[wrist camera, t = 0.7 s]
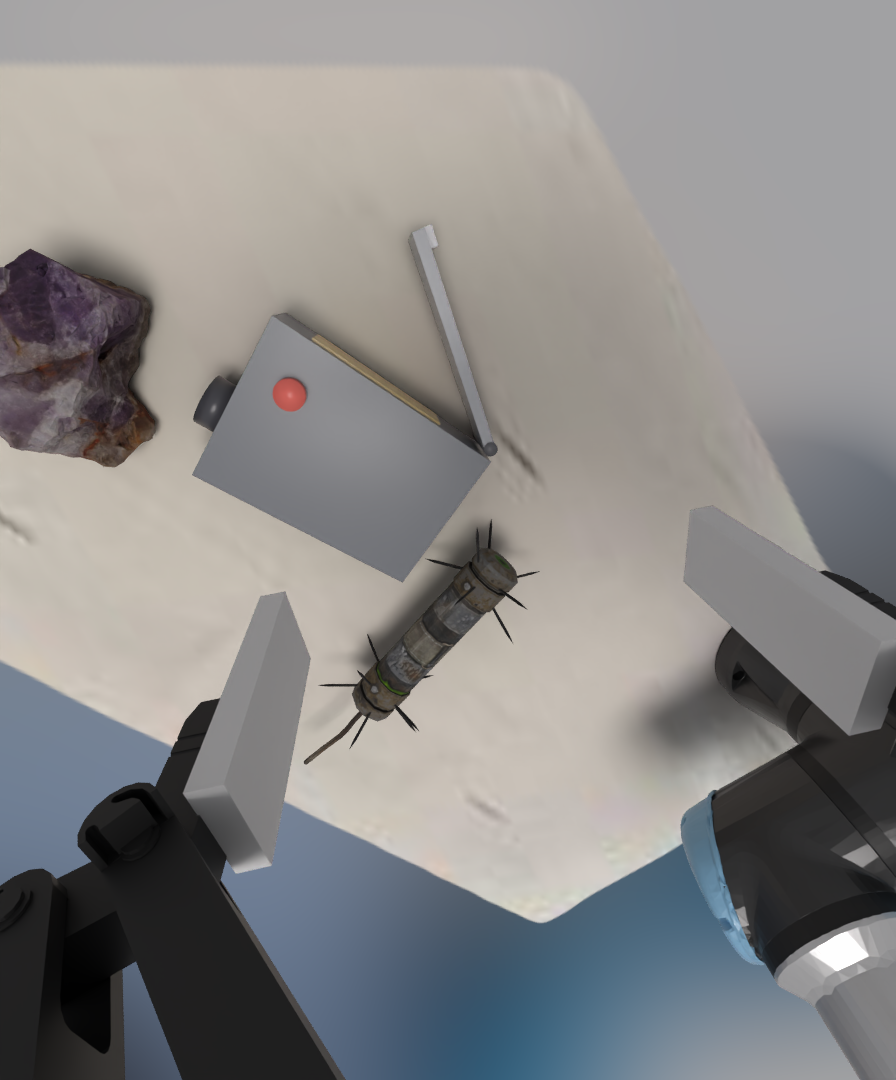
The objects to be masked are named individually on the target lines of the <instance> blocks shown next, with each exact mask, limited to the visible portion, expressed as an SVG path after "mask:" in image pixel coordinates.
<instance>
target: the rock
mask: <svg viewBox="0 0 896 1080" xmlns="http://www.w3.org/2000/svg"><path fill="white" fill-rule="evenodd" d="M149 315H150V306H149V303H148V301H147V300H146V298H145V297H143V296H141V295H138V294H136V293H135V292H133V291H132V290H130V289H128V288H126V287H121V286H117V285H115V284H114V283H112V282H111V281H108V280H104V279H98V278H95V277H93V276H89V275H86V274H81V273H77V272H74V271H73V270H71V269H70V268H68V267H66V266H64V265H62V264H60V263H58V262H56V261H54V260H52V259H50V258H48V257H46V256H44V255H42V254H40V253H38V252H36V251H34V250H32V249H29V250H28V251H26V252H24V253H23V254H21V255H20V256H18V257H17V258H16V259H15V260H14V261H13V262H11V263H9V264H7V265H6V266H5V267H0V436H1V437H2V438H3V439H5V440H6V441H7V442H8V443H9V445H10V447H13V448H16V449H19V450H28V451H34V452H39V453H42V452H45V453H50V454H62V455H65V456H68V457H73V458H74V457H81V458H85V459H89V460H93V461H96V462H97V463H99V464H101V465H102V466H105V467H116V466H118V465H119V464H121V463H123V462H124V461H125V460H126V459H127V457H128V456H129V455H130V454H131V453H132V452H133V451H134V450H135V449H136V448H137V447H138V446H139V445H140V444H141V443H142V442H145V441H149V440H150V439H152V438H153V437H152V436H153V435H154V433H155V421H154V420H153V419H152V418H151V416H150V415H149V414H148V412H147V410H146V409H145V407H144V405H142V404H141V403H140V402H139V401H137V400H136V399H135V398H134V393H133V392H132V391H131V390H130V389H129V388H128V382H129V380H130V379H131V377H132V376H133V374H134V373H135V372H136V370H137V368H138V366H139V357H138V348H139V346H140V344H141V341H142V339H143V338H145V337H146V335H147V329H148V318H149Z"/></svg>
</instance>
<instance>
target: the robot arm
mask: <svg viewBox="0 0 896 1080" xmlns="http://www.w3.org/2000/svg"><path fill="white" fill-rule="evenodd" d="M684 582H685V583H686V584H687V585H688V586H689V587H690V588H691V589H692V590H693V591H695V592H696V593H697V594H698V595H699V596H700V597H701V598H702V599H703V600H704V601H705V602H706V603H707V604H708V605H709V606H711V607H712V608H713V609H714V610H715V611H716V612H717V613H718V614H719V615H720V616H721V617H722V618H723V619H724V620H726V621H727V622H728V623H729V624H730V625H731V626H732V627H733V628H732V630H731V631H730V632H729V633H728V635H727V636H726V638H725V639H724V641H723V643H722V645H721V647H720V649H719V652H718V655H717V659H716V674H717V677H718V680H719V681H720V683H721V684H722V686H723V687H724V688H725V689H726V690H727V691H728V692H729V694H730V695H731V696H732V697H733V698H734V699H735V700H736V701H738V702H739V703H740V704H742V705H743V706H745V707H747V708H748V709H750V710H752V711H753V712H755V713H757V714H758V715H760V716H762V717H763V718H765V719H767V720H768V721H770V722H772V723H773V724H775V725H777V726H778V727H780V728H782V729H783V730H785V731H786V732H787V733H788V734H789V735H790V736H791V737H792V738H793V739H794V740H795V741H796V742H797V743H798V744H799V745H797V746H795V747H793V748H792V749H790V750H788V751H787V752H785V753H783V754H781V755H779V756H778V757H776V758H774V759H772V760H771V761H769V762H767V763H765V764H764V765H762V766H760V767H758V768H757V769H755V770H753V771H751V772H749V773H748V774H746V775H744V776H742V777H740V778H739V779H737V780H735V781H733V782H731V783H730V784H728V785H726V786H724V787H722V788H721V789H719V790H713V791H711V792H710V793H709V795H708V797H707V798H705V799H704V800H702V801H701V802H699V803H698V804H696V805H695V806H693V807H692V808H690V809H688V810H687V811H686V812H685V814H684V815H683V817H682V820H681V837H682V842H683V846H684V849H685V852H686V855H687V858H688V861H689V864H690V866H691V869H692V871H693V873H694V876H695V878H696V881H697V883H698V885H699V887H700V889H701V891H702V893H703V896H704V898H705V900H706V902H707V903H708V906H709V908H710V909H711V911H712V913H713V914H714V916H715V917H717V918H718V921H719V923H720V925H721V927H722V930H723V932H724V933H725V935H726V937H727V938H728V940H729V942H730V943H731V944H732V946H733V947H734V949H735V950H736V951H737V953H738V954H739V955H740V956H741V957H742V958H743V959H744V960H746V961H747V962H749V963H751V964H758V965H764V964H766V965H767V967H768V969H769V971H770V972H771V974H772V975H773V977H774V979H775V981H776V982H777V984H778V985H779V986H780V987H781V988H783V989H785V990H786V991H789V992H790V993H792V994H794V995H796V996H798V997H799V998H801V999H803V1000H805V1001H807V1002H808V1003H809V1004H811V1005H812V1006H813V1007H814V1008H816V1010H817V1011H818V1013H819V1015H820V1016H821V1018H822V1019H823V1021H824V1023H825V1024H826V1026H827V1027H828V1029H829V1031H830V1032H831V1034H832V1036H833V1037H834V1039H835V1040H836V1042H837V1044H838V1045H839V1047H840V1048H841V1050H842V1052H843V1053H844V1055H845V1057H846V1058H847V1060H848V1061H849V1063H850V1064H851V1066H852V1068H853V1069H854V1071H855V1073H856V1074H857V1076H858V1078H859V1079H860V1080H896V607H895V606H893V605H892V604H890V603H885V602H884V600H883V599H882V598H880V597H878V596H877V595H875V594H873V593H869V592H868V590H866V589H865V588H863V587H862V586H860V585H858V584H857V583H855V582H853V581H852V580H850V579H848V578H845V577H842V576H839V575H837V574H834V573H831V572H828V571H821V572H818V571H816V570H815V569H813V568H812V567H810V566H809V565H807V564H805V563H804V562H802V561H801V560H799V559H797V558H796V557H794V556H793V555H791V554H789V553H788V552H786V551H785V550H783V549H781V548H780V547H778V546H777V545H775V544H773V543H772V542H770V541H769V540H767V539H765V538H764V537H762V536H761V535H759V534H757V533H756V532H754V531H753V530H751V529H749V528H748V527H746V526H745V525H743V524H741V523H740V522H738V521H737V520H735V519H733V518H732V517H730V516H729V515H727V514H725V513H724V512H722V511H721V510H719V509H718V508H716V507H714V506H708V507H703V508H698V509H694V510H690V517H689V528H688V539H687V550H686V560H685V571H684ZM310 659H311V658H310V656H309V653H308V650H307V648H306V645H305V642H304V640H303V637H302V635H301V632H300V629H299V627H298V624H297V621H296V619H295V616H294V613H293V611H292V608H291V606H290V603H289V600H288V598H287V595H286V592H280V593H275V594H270V595H265V596H261V597H260V599H259V602H258V604H257V607H256V609H255V612H254V614H253V617H252V619H251V622H250V624H249V627H248V629H247V632H246V635H245V637H244V640H243V642H242V645H241V647H240V650H239V652H238V655H237V657H236V660H235V662H234V665H233V667H232V670H231V673H230V675H229V678H228V680H227V683H226V685H225V688H224V690H223V693H222V695H221V698H219V699H214V700H209V701H205V702H201V703H200V704H199V705H198V706H197V707H196V709H195V710H194V711H193V712H192V713H191V714H190V715H189V717H188V718H187V719H186V720H185V722H184V725H183V727H182V729H181V731H180V733H179V736H178V738H177V739H178V741H177V742H175V744H174V747H173V749H172V751H171V757H169V758H168V760H167V762H166V764H165V767H164V768H163V771H162V773H161V775H160V777H159V780H158V782H157V784H156V786H155V787H154V786H153V785H151V784H150V783H135V784H132V785H128V786H125V787H123V788H121V789H119V790H118V791H116V792H114V793H112V794H111V795H109V796H108V797H106V798H105V799H104V800H103V801H102V802H101V803H99V804H98V805H97V806H96V807H95V808H94V809H93V810H92V812H91V813H90V814H89V815H88V816H87V818H86V819H85V820H84V822H83V824H82V826H81V829H80V831H79V833H78V847H79V848H80V849H81V850H82V851H83V852H84V854H85V855H86V856H87V857H88V858H89V859H90V860H91V861H92V862H90V863H88V864H86V865H84V866H82V867H80V868H78V869H76V870H74V871H72V872H70V873H68V874H66V875H64V876H62V877H60V878H58V879H56V878H55V877H54V876H53V875H52V874H51V873H49V872H48V871H46V870H44V869H33V870H28V871H26V872H24V873H21V874H19V875H17V876H14V877H13V878H11V879H10V880H8V881H7V882H5V883H4V884H2V885H1V886H0V1080H125V1056H124V1018H123V1017H124V1015H123V979H122V977H123V975H122V969H123V968H125V967H127V966H128V965H130V964H132V963H134V962H137V965H138V968H139V970H140V973H141V975H142V978H143V980H144V983H145V985H146V988H147V991H148V993H149V996H150V998H151V1001H152V1003H153V1006H154V1008H155V1011H156V1014H157V1016H158V1019H159V1021H160V1024H161V1026H162V1029H163V1031H164V1034H165V1037H166V1039H167V1042H168V1044H169V1046H170V1049H171V1052H172V1054H173V1057H174V1060H175V1062H176V1065H177V1067H178V1070H179V1072H180V1075H181V1078H182V1080H346V1079H345V1078H344V1076H343V1075H342V1073H341V1071H340V1070H339V1068H338V1067H337V1065H336V1063H335V1062H334V1060H333V1059H332V1057H331V1055H330V1054H329V1052H328V1051H327V1049H326V1047H325V1046H324V1044H323V1043H322V1041H321V1039H320V1038H319V1036H318V1035H317V1033H316V1031H315V1030H314V1028H313V1027H312V1025H311V1023H310V1022H309V1020H308V1019H307V1017H306V1015H305V1014H304V1012H303V1011H302V1009H301V1008H300V1006H299V1004H298V1003H297V1001H296V999H295V998H294V996H293V995H292V993H291V991H290V990H289V988H288V986H287V985H286V983H285V982H284V980H283V979H282V977H281V975H280V974H279V972H278V971H277V969H276V967H275V966H274V964H273V962H272V961H271V959H270V958H269V956H268V955H267V953H266V951H265V950H264V948H263V946H262V945H261V943H260V942H259V940H258V938H257V937H256V935H255V934H254V932H253V930H252V929H251V927H250V926H249V924H248V922H247V921H246V919H245V918H244V916H243V915H242V913H241V911H240V910H239V908H238V906H237V905H236V903H235V902H234V900H233V898H232V897H231V895H230V894H229V892H228V891H227V889H226V887H225V886H224V884H223V883H222V881H221V876H222V873H223V869H224V865H225V861H226V859H227V861H228V862H229V864H230V865H231V867H232V868H233V870H234V871H235V873H236V874H237V873H241V872H246V871H250V870H254V869H259V868H263V867H268V866H271V865H272V861H273V855H274V850H275V845H276V839H277V834H278V829H279V823H280V818H281V813H282V807H283V802H284V797H285V792H286V787H287V781H288V776H289V771H290V765H291V760H292V755H293V749H294V744H295V739H296V734H297V728H298V723H299V718H300V712H301V707H302V702H303V696H304V691H305V686H306V680H307V675H308V670H309V665H310Z"/></svg>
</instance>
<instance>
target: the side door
mask: <svg viewBox="0 0 896 1080" xmlns="http://www.w3.org/2000/svg"><path fill="white" fill-rule="evenodd" d="M408 241H409V244H410V247H411V250H412V253H413V256H414V259H415V262H416V265H417V268H418V271H419V274H420V277H421V280H422V283H423V286H424V288H425V291H426V294H427V297H428V300H429V303H430V306H431V309H432V312H433V315H434V318H435V321H436V324H437V327H438V330H439V333H440V335H441V338H442V341H443V344H444V347H445V350H446V353H447V356H448V359H449V362H450V365H451V368H452V371H453V374H454V377H455V380H456V382H457V385H458V388H459V391H460V394H461V397H462V400H463V403H464V406H465V409H466V412H467V415H468V418H469V421H470V424H471V427H472V429H473V436H474V438H475V439H476V441H477V442H478V444H479V445H480V447H481V448H482V450H483V451H484V453H485V454H486V455H487V456H494V455H495V454H496V453H497V450H498V448H497V446H496V444H495V443H494V441H493V438H492V435H491V432H490V428H489V425H488V422H487V419H486V416H485V413H484V410H483V407H482V404H481V400H480V397H479V394H478V391H477V388H476V385H475V382H474V379H473V376H472V373H471V369H470V366H469V363H468V360H467V357H466V354H465V351H464V348H463V345H462V342H461V338H460V335H459V332H458V329H457V326H456V323H455V320H454V317H453V314H452V310H451V307H450V304H449V301H448V298H447V295H446V292H445V289H444V286H443V283H442V279H441V276H440V273H439V270H438V267H437V264H436V261H435V258H434V255H433V251H432V250H433V249H435V248H436V247H437V246H438V243H437V239H436V236H435V233H434V230H433V227H432V224H430V225H428V226H425V227H423V228H421V229H419V230H417V231H414V232H412V234H411V235H410V237H409V239H408Z"/></svg>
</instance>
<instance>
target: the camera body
mask: <svg viewBox="0 0 896 1080" xmlns="http://www.w3.org/2000/svg"><path fill="white" fill-rule="evenodd" d="M193 421H194V422H196V423H198V424H200V425H201V426H203V427H205V428H207V429H209V430H211V431H212V432H213V434H212V436H211V438H210V440H209V442H208V444H207V446H206V448H205V450H204V452H203V454H202V456H201V458H200V460H199V462H198V464H197V466H196V468H195V470H194V472H193V474H192V475H193V476H195V477H197V478H199V479H201V480H203V481H205V482H207V483H209V484H211V485H213V486H215V487H217V488H219V489H220V490H222V491H224V492H226V493H228V494H230V495H232V496H234V497H236V498H238V499H240V500H242V501H244V502H246V503H248V504H250V505H252V506H254V507H256V508H258V509H260V510H262V511H264V512H266V513H267V514H269V515H271V516H273V517H275V518H277V519H279V520H281V521H283V522H285V523H287V524H289V525H291V526H293V527H295V528H297V529H299V530H301V531H303V532H305V533H307V534H309V535H311V536H312V537H314V538H316V539H318V540H320V541H322V542H324V543H326V544H328V545H330V546H332V547H334V548H336V549H338V550H340V551H342V552H344V553H346V554H348V555H350V556H352V557H354V558H356V559H358V560H359V561H361V562H363V563H365V564H367V565H369V566H371V567H373V568H375V569H377V570H379V571H381V572H383V573H385V574H387V575H389V576H391V577H393V578H395V579H397V580H399V581H401V582H403V581H404V580H405V578H406V577H407V576H408V574H409V573H410V572H411V570H412V569H413V567H414V566H415V565H416V563H417V562H418V561H419V559H420V558H421V557H422V555H423V554H424V553H425V551H426V550H427V548H428V547H429V546H430V544H431V543H432V542H433V540H434V539H435V538H436V536H437V535H438V533H439V532H440V531H441V529H442V528H443V527H444V525H445V524H446V523H447V521H448V520H449V518H450V517H451V516H452V514H453V513H454V512H455V510H456V509H457V508H458V506H459V505H460V503H461V502H462V501H463V499H464V498H465V497H466V495H467V494H468V493H469V491H470V490H471V488H472V487H473V486H474V484H475V483H476V482H477V480H478V479H479V478H480V476H481V475H482V473H483V472H484V471H485V469H486V468H487V467H488V465H489V464H490V463H491V461H490V460H489V458H488V457H487V455H486V454H485V453H484V451H483V450H482V448H481V447H480V445H479V444H478V443H477V442H476V441H474V440H473V439H471V438H470V437H468V436H467V435H465V434H464V433H462V432H461V431H459V430H458V429H457V428H455V427H454V426H452V425H451V424H449V423H448V422H446V421H445V420H443V419H442V418H440V417H439V416H437V415H436V414H435V413H434V412H432V411H431V410H429V409H428V408H427V407H425V406H424V405H422V404H421V403H419V402H418V401H416V400H415V399H413V398H412V397H410V396H409V395H407V394H406V393H404V392H403V391H401V390H400V389H399V388H397V387H396V386H394V385H393V384H391V383H390V382H388V381H387V380H385V379H384V378H382V377H381V376H379V375H378V374H376V373H375V372H373V371H372V370H371V369H369V368H368V367H366V366H365V365H363V364H362V363H360V362H359V361H357V360H356V359H354V358H353V357H351V356H350V355H348V354H347V353H345V352H344V351H343V350H341V349H340V348H338V347H337V346H335V345H334V344H332V343H331V342H329V341H328V340H326V339H325V338H323V337H322V336H320V335H319V334H316V333H315V332H313V331H312V330H310V329H309V328H308V327H306V326H305V325H303V324H302V323H300V322H299V321H297V320H296V319H294V318H293V317H291V316H290V315H288V314H287V313H284V314H278V315H273V316H272V317H271V319H270V321H269V323H268V325H267V327H266V329H265V331H264V333H263V335H262V337H261V339H260V341H259V343H258V345H257V347H256V349H255V351H254V353H253V355H252V357H251V359H250V361H249V363H248V365H247V367H246V369H245V370H244V372H243V374H242V376H241V378H240V380H239V382H238V384H237V386H236V385H235V384H233V383H231V382H230V381H228V380H226V379H224V378H223V377H221V376H217V377H216V378H215V379H214V380H213V381H212V383H211V384H210V385H209V387H208V388H207V390H206V391H205V393H204V395H203V396H202V398H201V400H200V402H199V404H198V406H197V408H196V411H195V414H194V418H193Z"/></svg>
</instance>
